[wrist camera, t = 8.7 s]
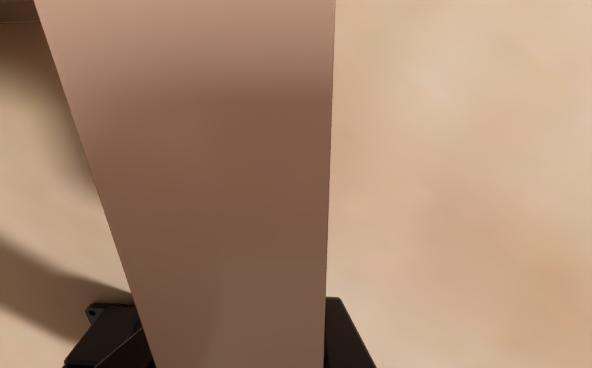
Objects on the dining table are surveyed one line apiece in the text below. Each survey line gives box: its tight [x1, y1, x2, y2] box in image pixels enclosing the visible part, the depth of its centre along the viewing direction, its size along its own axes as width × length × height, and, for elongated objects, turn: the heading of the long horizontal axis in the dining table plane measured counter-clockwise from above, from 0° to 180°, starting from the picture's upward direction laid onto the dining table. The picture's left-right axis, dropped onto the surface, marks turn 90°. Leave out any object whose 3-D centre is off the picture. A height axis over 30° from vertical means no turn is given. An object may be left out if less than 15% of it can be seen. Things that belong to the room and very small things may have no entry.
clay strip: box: [34, 0, 336, 368], centre depth 8 cm, size 14×3×4 cm, turn 1°
